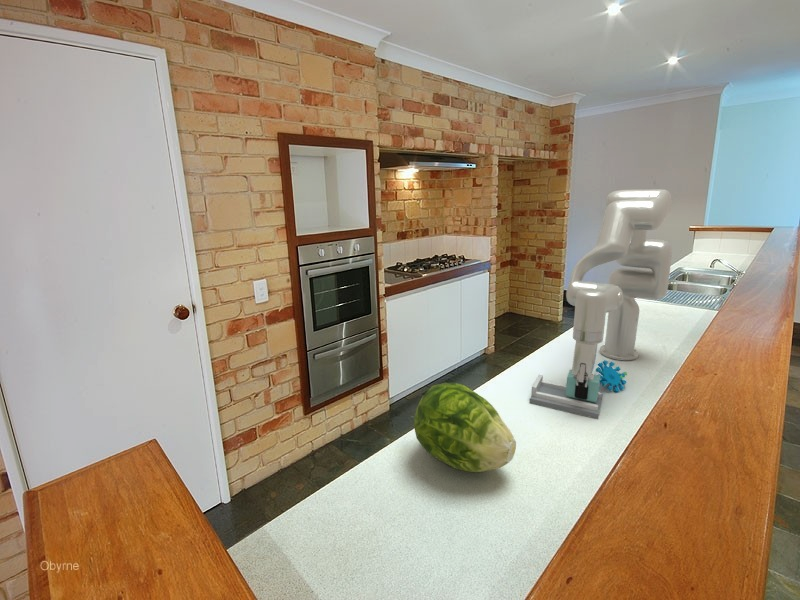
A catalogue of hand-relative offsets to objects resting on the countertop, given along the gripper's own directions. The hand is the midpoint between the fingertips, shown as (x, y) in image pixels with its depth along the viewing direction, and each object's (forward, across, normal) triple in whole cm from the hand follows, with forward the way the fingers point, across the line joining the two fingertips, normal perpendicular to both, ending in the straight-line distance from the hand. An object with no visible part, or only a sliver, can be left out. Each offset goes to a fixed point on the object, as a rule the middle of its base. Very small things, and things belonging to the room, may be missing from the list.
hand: (582, 393), depth 114 cm
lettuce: (+4, +39, -20) cm, 44 cm away
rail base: (+4, 0, -4) cm, 5 cm away
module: (+1, 0, 0) cm, 1 cm away
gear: (+4, -15, +6) cm, 17 cm away
